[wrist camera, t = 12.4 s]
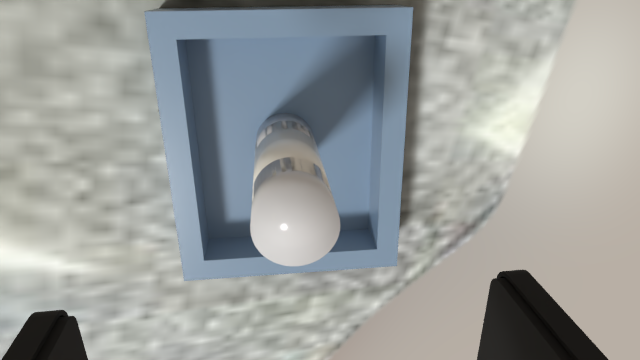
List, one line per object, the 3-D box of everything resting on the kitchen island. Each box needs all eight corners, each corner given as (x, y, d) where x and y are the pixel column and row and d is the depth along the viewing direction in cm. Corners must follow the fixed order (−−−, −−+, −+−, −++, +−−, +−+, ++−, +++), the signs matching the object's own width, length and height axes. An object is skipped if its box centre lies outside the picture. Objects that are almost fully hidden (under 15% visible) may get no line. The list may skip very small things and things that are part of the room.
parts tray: (159, 8, 23) (144, 11, 20) (396, 4, 24) (413, 7, 21) (192, 252, 28) (184, 280, 26) (384, 239, 29) (396, 265, 27)
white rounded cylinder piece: (253, 114, 25) (247, 189, 16) (313, 111, 25) (340, 184, 16) (257, 169, 26) (253, 269, 17) (314, 166, 26) (340, 263, 17)
